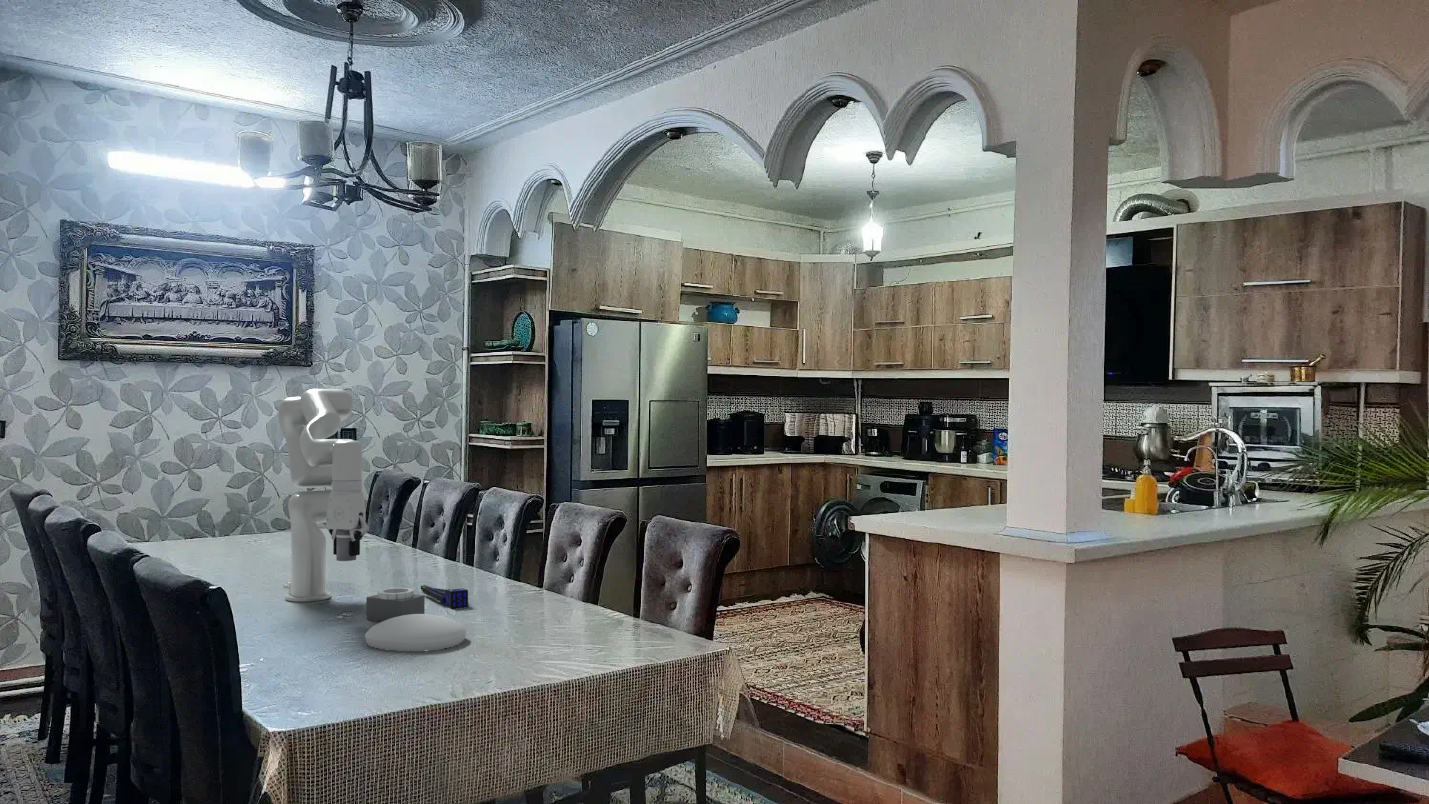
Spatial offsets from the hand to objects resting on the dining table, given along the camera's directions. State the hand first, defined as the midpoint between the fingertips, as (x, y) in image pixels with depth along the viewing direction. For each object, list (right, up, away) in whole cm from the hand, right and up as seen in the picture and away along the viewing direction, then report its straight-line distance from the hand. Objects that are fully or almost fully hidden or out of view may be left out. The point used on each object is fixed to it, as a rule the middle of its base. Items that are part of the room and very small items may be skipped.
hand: (346, 554), depth 271 cm
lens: (0, -2, 0) cm, 2 cm away
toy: (+18, -18, +29) cm, 39 cm away
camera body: (+12, -18, +2) cm, 22 cm away
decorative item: (+26, -18, -24) cm, 40 cm away
